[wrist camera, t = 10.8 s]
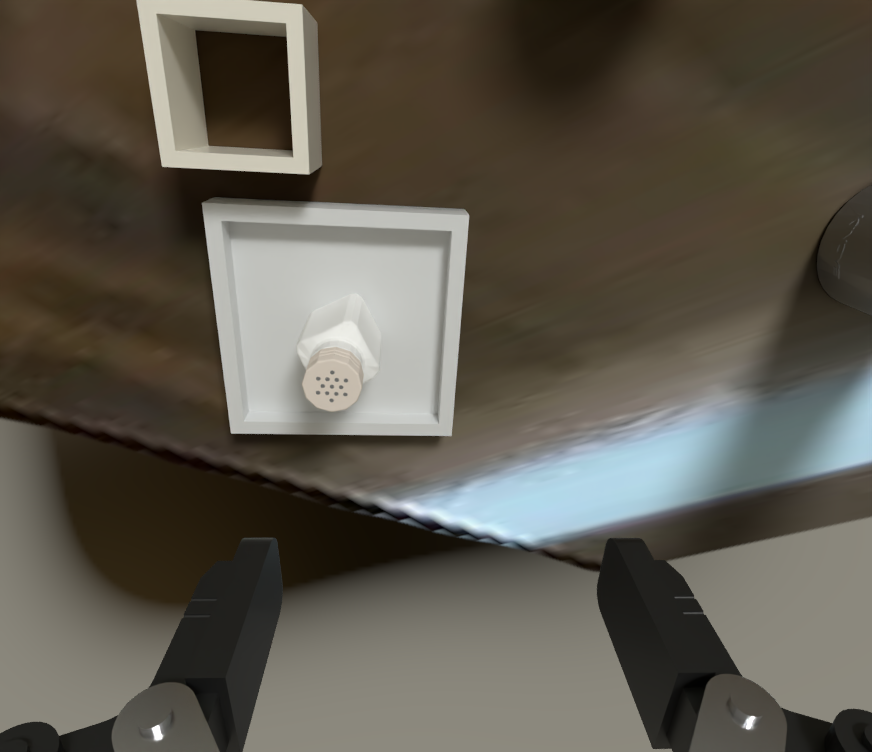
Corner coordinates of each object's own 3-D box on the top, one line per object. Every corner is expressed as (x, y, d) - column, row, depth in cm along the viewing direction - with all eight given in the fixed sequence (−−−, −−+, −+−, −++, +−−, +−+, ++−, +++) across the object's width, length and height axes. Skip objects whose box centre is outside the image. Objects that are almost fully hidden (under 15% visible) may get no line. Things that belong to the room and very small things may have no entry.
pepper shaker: (358, 287, 36) (347, 340, 28) (385, 337, 38) (382, 401, 29) (306, 311, 37) (279, 370, 28) (334, 359, 38) (317, 429, 30)
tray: (464, 209, 36) (469, 215, 33) (448, 419, 42) (451, 436, 40) (214, 197, 34) (201, 202, 32) (239, 416, 41) (231, 433, 39)
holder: (317, 22, 31) (301, 4, 26) (321, 165, 34) (309, 174, 29) (178, 12, 30) (135, -9, 25) (196, 159, 33) (161, 166, 28)
